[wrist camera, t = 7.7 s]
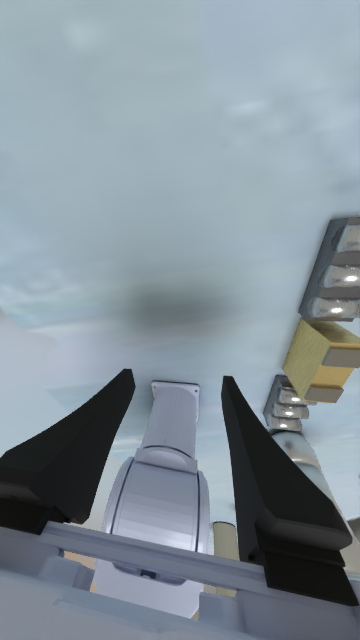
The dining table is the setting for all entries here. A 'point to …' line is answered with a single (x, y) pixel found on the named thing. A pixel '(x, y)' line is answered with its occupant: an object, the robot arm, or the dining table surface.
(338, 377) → the gold block
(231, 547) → the travel mug
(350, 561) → the plastic bottle
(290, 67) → the dining table surface
